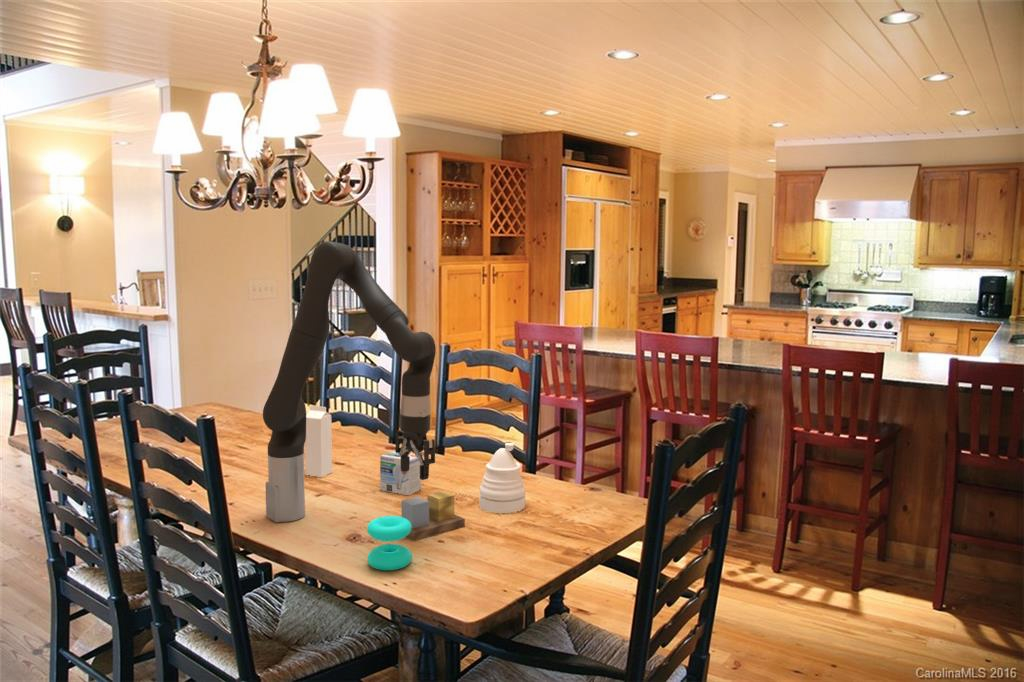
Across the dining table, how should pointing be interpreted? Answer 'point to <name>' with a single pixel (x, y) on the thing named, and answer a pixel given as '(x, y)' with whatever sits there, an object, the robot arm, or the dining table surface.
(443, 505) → the brown wooden stand
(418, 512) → the pale grey cube
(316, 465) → the milk
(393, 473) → the light bulb box
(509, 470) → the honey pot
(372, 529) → the donuts
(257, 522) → the dining table surface
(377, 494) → the dining table surface
